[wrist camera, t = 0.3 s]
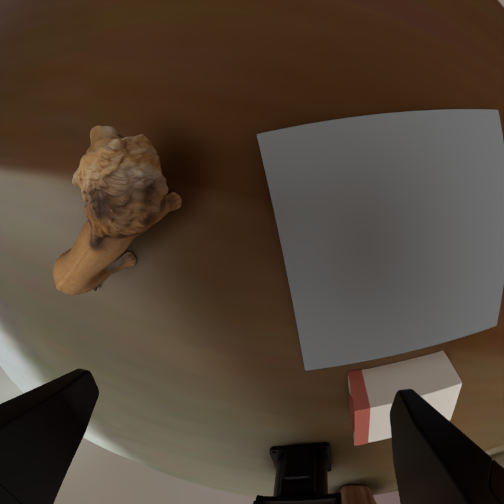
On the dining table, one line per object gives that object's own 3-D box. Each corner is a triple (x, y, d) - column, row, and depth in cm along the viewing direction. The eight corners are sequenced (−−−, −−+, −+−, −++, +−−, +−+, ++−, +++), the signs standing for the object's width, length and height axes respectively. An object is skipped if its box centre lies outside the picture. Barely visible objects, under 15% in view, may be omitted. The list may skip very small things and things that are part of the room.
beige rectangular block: (435, 388, 23) (450, 421, 19) (349, 408, 25) (354, 445, 20) (443, 349, 21) (462, 382, 17) (347, 371, 23) (354, 410, 19)
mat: (493, 322, 20) (496, 325, 19) (305, 366, 23) (305, 370, 23) (493, 110, 15) (498, 109, 14) (257, 134, 18) (256, 134, 17)
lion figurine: (156, 117, 18) (72, 107, 10) (216, 160, 19) (158, 171, 11) (78, 269, 23) (9, 317, 15) (122, 307, 24) (63, 370, 16)
